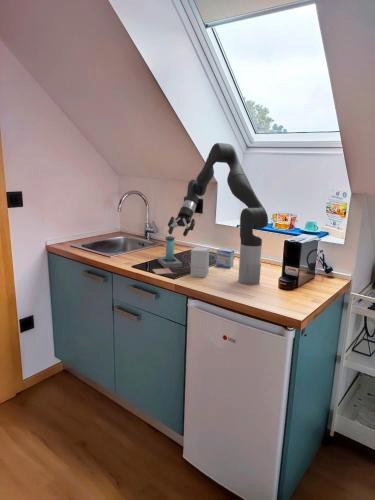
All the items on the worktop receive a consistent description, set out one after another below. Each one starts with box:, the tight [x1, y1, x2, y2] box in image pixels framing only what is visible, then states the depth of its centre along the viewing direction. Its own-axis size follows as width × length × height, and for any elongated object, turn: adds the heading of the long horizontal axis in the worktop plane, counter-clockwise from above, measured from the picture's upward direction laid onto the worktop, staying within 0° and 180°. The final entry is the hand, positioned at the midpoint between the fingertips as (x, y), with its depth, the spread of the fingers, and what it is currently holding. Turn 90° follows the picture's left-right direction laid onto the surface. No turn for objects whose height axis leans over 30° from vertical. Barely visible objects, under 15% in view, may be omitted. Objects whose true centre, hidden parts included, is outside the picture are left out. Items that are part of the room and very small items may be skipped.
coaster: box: [152, 268, 173, 275], centre depth 180 cm, size 8×8×1 cm
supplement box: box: [190, 246, 210, 278], centre depth 177 cm, size 7×7×13 cm
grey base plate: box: [157, 256, 183, 269], centre depth 193 cm, size 14×9×2 cm, turn 19°
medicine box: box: [215, 248, 235, 269], centre depth 193 cm, size 8×4×9 cm, turn 62°
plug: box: [165, 235, 176, 262], centre depth 192 cm, size 5×5×14 cm
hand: (176, 234), depth 197 cm, fingers open, 8 cm apart
